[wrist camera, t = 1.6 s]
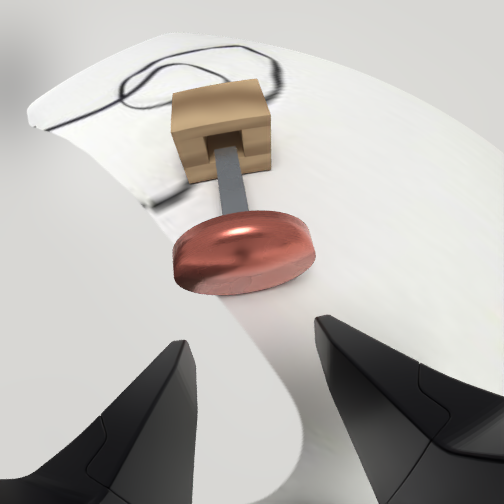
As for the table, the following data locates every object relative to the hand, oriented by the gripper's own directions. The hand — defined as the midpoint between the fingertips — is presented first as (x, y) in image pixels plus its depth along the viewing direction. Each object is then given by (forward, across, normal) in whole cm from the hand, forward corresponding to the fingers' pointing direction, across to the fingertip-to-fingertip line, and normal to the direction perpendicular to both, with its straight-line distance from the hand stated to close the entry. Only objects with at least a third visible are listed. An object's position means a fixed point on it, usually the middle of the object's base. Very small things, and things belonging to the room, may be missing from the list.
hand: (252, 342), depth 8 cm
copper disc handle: (+17, 0, +2) cm, 17 cm away
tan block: (+24, 0, -5) cm, 24 cm away
